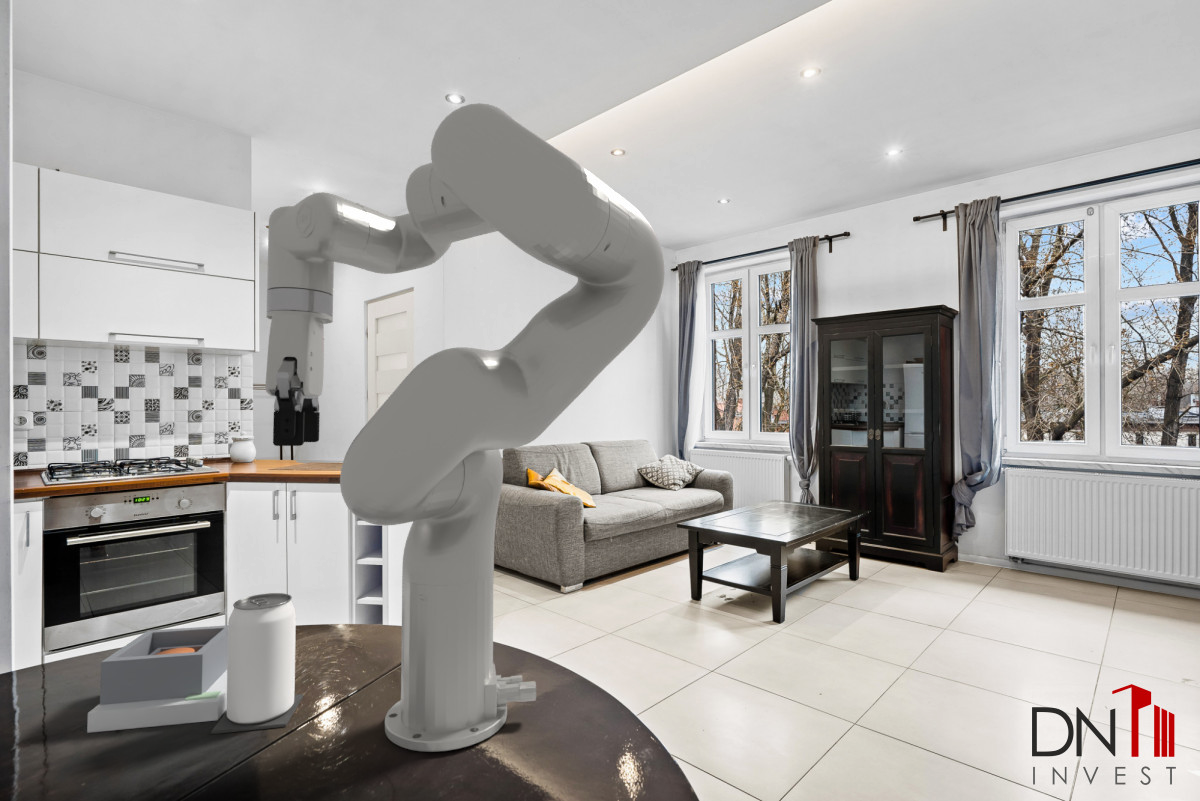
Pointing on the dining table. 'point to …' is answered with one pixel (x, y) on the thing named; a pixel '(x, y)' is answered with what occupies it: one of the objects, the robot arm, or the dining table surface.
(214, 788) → the dining table surface
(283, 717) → the mat
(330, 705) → the dining table surface
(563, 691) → the dining table surface
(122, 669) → the box
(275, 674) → the can
